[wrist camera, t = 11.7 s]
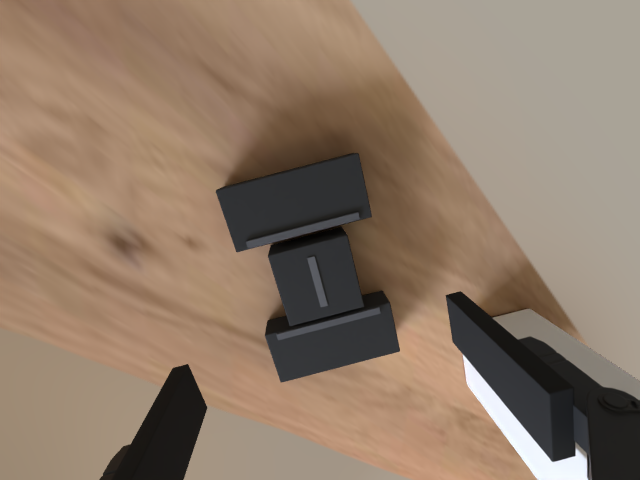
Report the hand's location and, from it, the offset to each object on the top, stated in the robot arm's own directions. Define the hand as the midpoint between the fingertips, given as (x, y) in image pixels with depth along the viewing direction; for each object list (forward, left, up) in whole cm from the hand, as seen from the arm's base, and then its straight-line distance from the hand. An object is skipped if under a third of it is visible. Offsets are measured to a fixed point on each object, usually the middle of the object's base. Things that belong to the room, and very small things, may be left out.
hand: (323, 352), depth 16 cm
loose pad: (+1, 0, -13) cm, 13 cm away
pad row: (0, 0, -13) cm, 13 cm away
